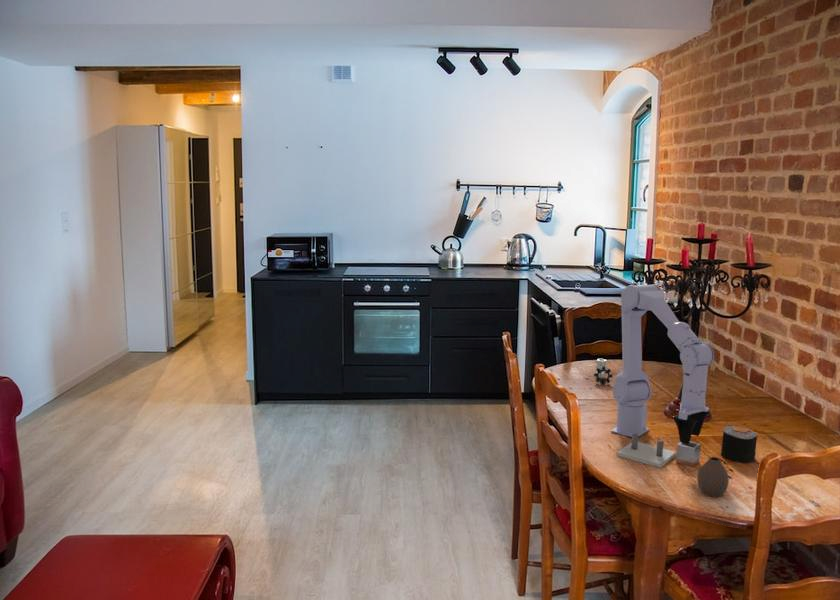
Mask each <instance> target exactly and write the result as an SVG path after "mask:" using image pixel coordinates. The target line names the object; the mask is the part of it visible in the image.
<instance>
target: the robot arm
mask: <svg viewBox="0 0 840 600" xmlns="http://www.w3.org/2000/svg"><path fill="white" fill-rule="evenodd" d="M620 296H621V297H620V298H621V299H620V300H621V301H620V302H621V303H620V304H621V307H620V308H621V349H622V356H621V357H622V370H620V372H618V374H617V375H615V377H614V384H613V388H612V395H613V398H614V400H615V401H616V403H617V417H616V426H615V427H614V428H612V429H610V432H611V433H614V434H619V435H622V436H626V437H630V438H632V434H638V438H639V437H641V436H642V435H643V434H645V433H646V432H648V431H650V428H649V427H647V419H648V418H647V417H648V406H647V400H649V399H650V398H651V395H652V387H651V385H650V378H649V377H650V376H649V375H648V374H647V373H645V372H644V371H643V362H642V361H643V357H642V353H643V351H642V350H643V349H642V348H643V347H642V346H643V345H642V317H643V316H644V314H646V313H647V312H648V311H651V312H652V313H653V314H654V315H655V316H656V317H657V319H658V320H659V321H660V322H661V323H662V324H663V325H664V326H665V327H666V329H667V337H668V338H669V339H670V341H671V342H672V343H673V344H674V346H675V347H676V348H677V349H678V351H679V352H680V353H679V359H680V361H681V367H682V369H681V370H682V371H683V376H682V377H683V378H682V379H683V380H682V389H681V401H680V404H679V411H678V414H677V413H676V414H674V415H673V421H674V422H675V424H676V427H677V431H678V435H679V436H678V437H679V443H680V442H681V443H685V444H689V442H690V441H691V440H692V439H691V438H692V435H693V436H696V437H699V436H700V433H701V431H702V429H703V426H704V422H705V420H706V418H707V417H708V415H709V414H710V412H711V411H710V408H709V407H707V406H706V401H707V400H706V394H707V393H706V392H707V381H708V371H709V365H711V364H712V363H713V362H714V359H715V352H714V349H713V348H712V345H711V344H710V343H708V342H704V341H703V340H701V339H699V337H698V336H697V335H696V334H695V332H693V330H692V329H691V326H690V325H689V324H688V323H686V322H685V321H680V320H679V319H678V318H677V316H676V315H675V313H674V312H673V310H672V309H671V307H670V305H669V304H668V302H667V301H666V300H665V297H666V296H665V292H664V291H663V290H662V289H661V286H659V284H657V283H653V284H643V285H642V284H641V285H640V284H639V285H631V284H630V285H627V286H626V287H625V288H624V289H623V290H622V291H621V293H620Z"/></svg>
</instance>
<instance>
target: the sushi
mask: <svg viewBox="0 0 840 600" xmlns="http://www.w3.org/2000/svg"><path fill="white" fill-rule="evenodd" d="M724 427H725V428H722V431H723V432H722V440H721V451H720V456H721V457H723V459H724V458H725V459H726V460H729V461H733V462H735V463H740V464H750V463H753V461H755V459H756V449H757V440H758V432H757V431H756V432H755V431H754V430H753V429H750V428H747V427H742V426H735V425H729V426H724Z"/></svg>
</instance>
